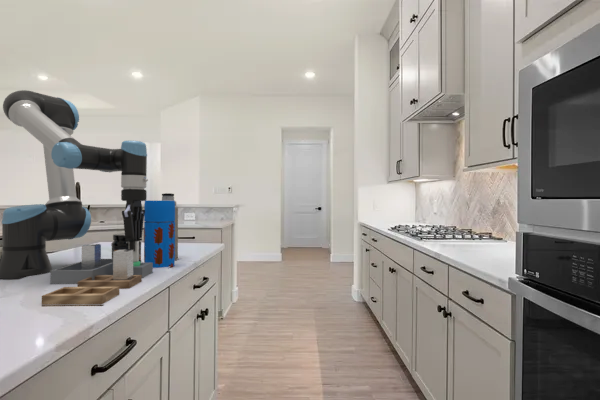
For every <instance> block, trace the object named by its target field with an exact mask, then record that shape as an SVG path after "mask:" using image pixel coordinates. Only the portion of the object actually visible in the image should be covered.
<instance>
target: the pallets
mask: <svg viewBox="0 0 600 400" xmlns="http://www.w3.org/2000/svg"><path fill="white" fill-rule="evenodd" d="M142 279H143V278H142V275H133V278H132V279H130V280H113V275H97V276H95V280H92V277H89V278H86V279H83V280H81V281H78V282H77V284H76V285H77V286H63V287H61V288H58V289H56V290H53V291H51V292H48V293H45V294H43V295H41V307H103V306H104V304H106V303H107V302H109V301H110V300H112V299H113V298H116V297H117V296H119V295H120V290H121V289H122V290H123V289H125V290H127V289H131V288H132V287H134V286H136V285H138V284H140V283H142V281H143V280H142Z"/></svg>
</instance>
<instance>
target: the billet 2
mask: <svg viewBox="0 0 600 400" xmlns="http://www.w3.org/2000/svg"><path fill="white" fill-rule="evenodd" d="M132 278H133V250H132V249H128V250H117V251H113V280H130V279H132Z"/></svg>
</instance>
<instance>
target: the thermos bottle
mask: <svg viewBox="0 0 600 400" xmlns="http://www.w3.org/2000/svg"><path fill="white" fill-rule="evenodd" d="M160 201H175V261H178V260H179V257H178V256H179V252H178V251H179V207H178V206H177V204H178V203H177V201H176V200H175V193H168V192H166V193H161V200H160ZM177 259H178V260H177Z"/></svg>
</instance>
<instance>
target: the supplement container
mask: <svg viewBox="0 0 600 400" xmlns="http://www.w3.org/2000/svg"><path fill="white" fill-rule="evenodd" d="M112 240H113V241H112V243H111V244H110V245H111V259H113V251H117V250H128V249H129V241H127V242H126V241H125V232H124V233H123V232H122V233H114V234H112ZM139 261H140V263H142V241H139Z"/></svg>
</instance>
